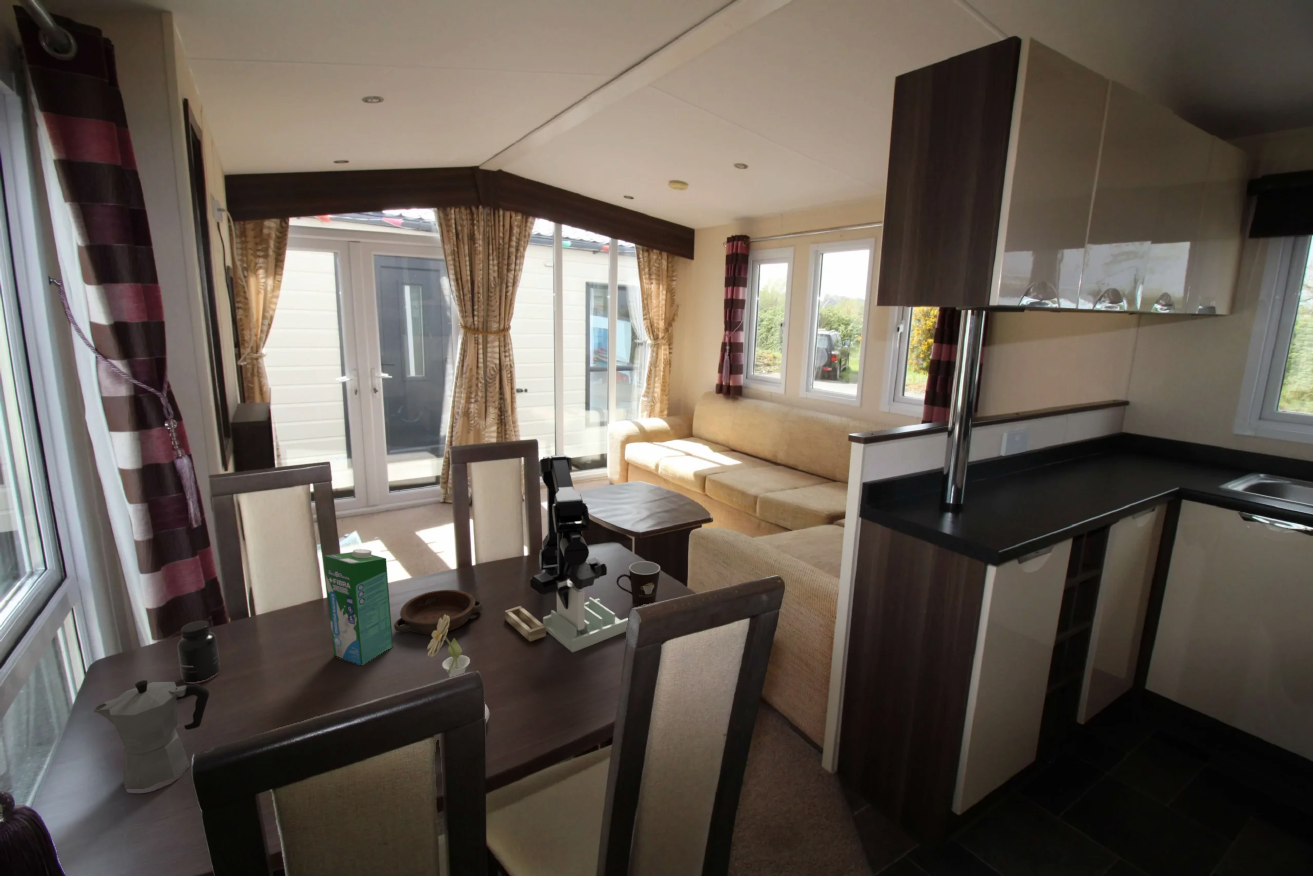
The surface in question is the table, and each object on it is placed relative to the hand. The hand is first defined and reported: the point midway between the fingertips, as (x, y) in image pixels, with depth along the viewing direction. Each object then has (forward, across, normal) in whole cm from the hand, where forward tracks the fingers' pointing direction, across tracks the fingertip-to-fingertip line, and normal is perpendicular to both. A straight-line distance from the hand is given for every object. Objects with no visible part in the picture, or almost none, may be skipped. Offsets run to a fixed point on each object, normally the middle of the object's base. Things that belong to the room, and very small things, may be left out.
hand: (569, 607), depth 150 cm
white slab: (+4, 0, 0) cm, 4 cm away
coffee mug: (+8, +25, +4) cm, 26 cm away
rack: (+8, +5, 0) cm, 9 cm away
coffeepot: (+8, -79, +4) cm, 80 cm away
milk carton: (+8, -42, +23) cm, 49 cm away
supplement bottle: (+8, -72, +34) cm, 80 cm away
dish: (+8, -23, +26) cm, 36 cm away
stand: (+8, -7, +10) cm, 14 cm away
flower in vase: (+8, -35, -16) cm, 40 cm away
